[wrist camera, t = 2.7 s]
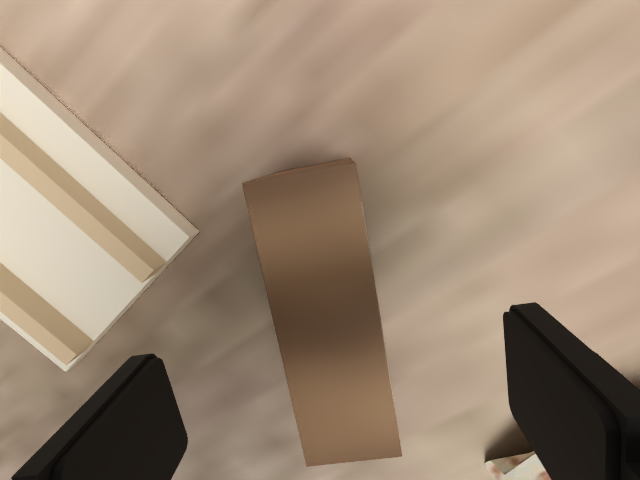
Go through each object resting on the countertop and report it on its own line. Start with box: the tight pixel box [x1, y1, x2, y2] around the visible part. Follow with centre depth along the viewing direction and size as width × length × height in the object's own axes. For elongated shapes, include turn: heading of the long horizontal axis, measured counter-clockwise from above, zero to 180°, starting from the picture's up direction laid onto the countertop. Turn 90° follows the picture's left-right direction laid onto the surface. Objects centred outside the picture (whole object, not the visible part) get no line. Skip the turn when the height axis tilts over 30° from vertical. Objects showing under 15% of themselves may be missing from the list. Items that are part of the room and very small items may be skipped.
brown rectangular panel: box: [242, 158, 402, 466], centre depth 18 cm, size 12×4×8 cm, turn 10°
